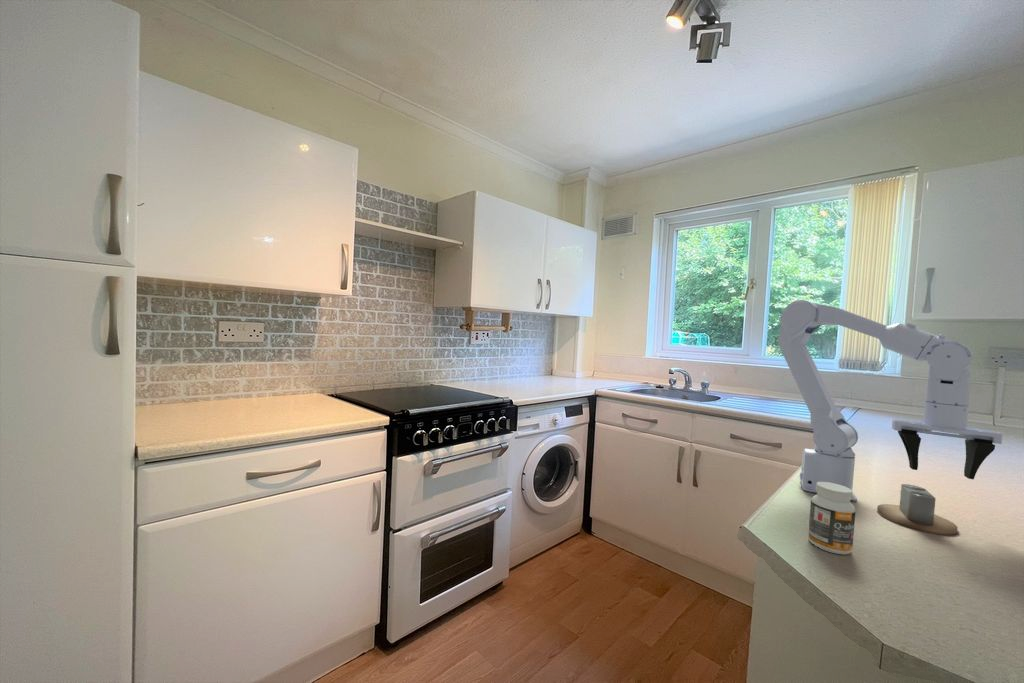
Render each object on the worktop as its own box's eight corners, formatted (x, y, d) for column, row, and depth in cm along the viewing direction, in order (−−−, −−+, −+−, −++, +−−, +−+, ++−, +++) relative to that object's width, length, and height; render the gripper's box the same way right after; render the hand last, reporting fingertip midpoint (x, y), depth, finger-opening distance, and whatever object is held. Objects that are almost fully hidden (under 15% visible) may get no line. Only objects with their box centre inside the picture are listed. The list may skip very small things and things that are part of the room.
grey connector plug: (936, 527, 74) (938, 500, 74) (910, 522, 76) (912, 495, 76) (916, 507, 83) (918, 483, 83) (893, 502, 85) (896, 479, 85)
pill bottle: (840, 559, 63) (846, 496, 62) (800, 541, 68) (805, 482, 67) (859, 551, 65) (864, 491, 65) (818, 534, 70) (823, 478, 70)
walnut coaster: (884, 522, 77) (885, 518, 77) (871, 503, 86) (871, 499, 86) (968, 541, 71) (968, 536, 71) (944, 518, 80) (944, 514, 80)
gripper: (901, 400, 79) (895, 469, 79) (1013, 412, 71) (1006, 488, 71) (891, 396, 85) (886, 461, 85) (994, 406, 77) (988, 477, 77)
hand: (940, 473), depth 79 cm, fingers open, 7 cm apart
